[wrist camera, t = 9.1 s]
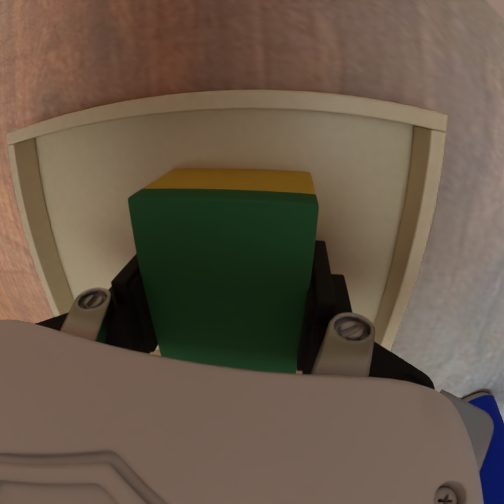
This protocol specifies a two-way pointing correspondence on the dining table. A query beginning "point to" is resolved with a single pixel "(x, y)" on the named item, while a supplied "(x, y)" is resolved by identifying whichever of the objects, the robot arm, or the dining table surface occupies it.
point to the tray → (235, 157)
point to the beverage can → (491, 451)
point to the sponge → (227, 263)
